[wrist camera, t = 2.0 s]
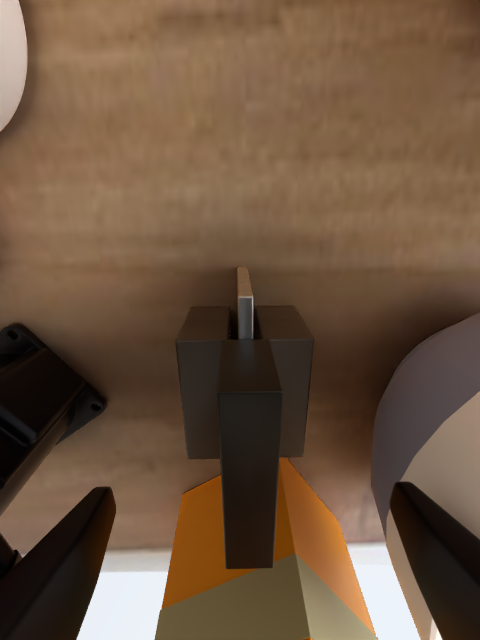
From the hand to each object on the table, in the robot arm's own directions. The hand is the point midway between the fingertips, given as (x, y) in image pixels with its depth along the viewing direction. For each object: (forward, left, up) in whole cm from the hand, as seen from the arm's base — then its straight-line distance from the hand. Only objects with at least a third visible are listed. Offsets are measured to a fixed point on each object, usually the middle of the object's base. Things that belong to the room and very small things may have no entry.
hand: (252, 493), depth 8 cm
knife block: (0, 0, -8) cm, 8 cm away
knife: (0, 0, -8) cm, 8 cm away
